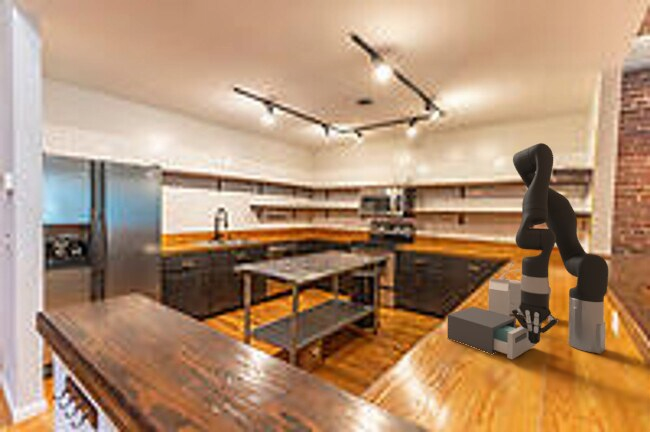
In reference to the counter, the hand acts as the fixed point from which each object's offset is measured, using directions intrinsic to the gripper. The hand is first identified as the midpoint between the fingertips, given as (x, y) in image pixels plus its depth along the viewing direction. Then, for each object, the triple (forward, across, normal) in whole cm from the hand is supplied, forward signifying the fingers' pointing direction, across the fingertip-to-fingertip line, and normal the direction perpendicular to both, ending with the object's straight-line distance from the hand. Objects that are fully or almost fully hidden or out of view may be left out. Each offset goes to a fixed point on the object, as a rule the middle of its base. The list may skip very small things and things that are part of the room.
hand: (534, 343), depth 96 cm
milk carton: (+5, -22, +25) cm, 34 cm away
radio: (+5, -20, +45) cm, 50 cm away
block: (+3, -9, 0) cm, 10 cm away
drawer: (+4, -11, 0) cm, 11 cm away
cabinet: (+5, -17, 0) cm, 18 cm away
